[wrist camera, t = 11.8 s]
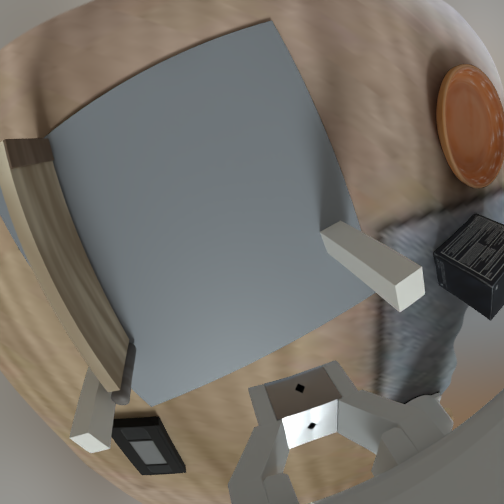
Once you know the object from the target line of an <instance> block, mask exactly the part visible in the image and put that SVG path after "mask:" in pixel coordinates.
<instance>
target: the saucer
mask: <svg viewBox="0 0 504 504" xmlns="http://www.w3.org/2000/svg"><path fill="white" fill-rule="evenodd" d="M436 122H437V130H438V135H439V139H440V143H441V146H442V150H443V152H444V155H445V157H446V160H447V162H448V164H449V166H450V168H451V169H452V171H453V173H454V174H455V175H456V177H457V178H458V179H459V180H460V181H461V182H463V183H464V184H466V185H468V186H470V187H472V188H483V187H486V186H488V185H489V184H490V183H492V182H493V180H494V179H495V178H496V176H497V175H498V173H499V171H500V169H501V166H502V163H503V160H504V111H503V108H502V104H501V101H500V98H499V96H498V94H497V91H496V89H495V87H494V86H493V84H492V82H491V81H490V80H489V78H488V77H487V76H486V75H485V74H484V73H483V72H482V71H481V70H480V69H479V68H477V67H475V66H473V65H470V64H462V65H458V66H455V67H453V68H452V69H451V70H449V71H448V73H447V74H446V75H445V77H444V79H443V81H442V84H441V87H440V90H439V94H438V99H437V107H436Z"/></svg>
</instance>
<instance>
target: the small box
mask: <svg viewBox="0 0 504 504" xmlns="http://www.w3.org/2000/svg"><path fill="white" fill-rule="evenodd" d="M434 259H435V263H436V268H437V274H438V281H439V285H440V286H441V287H443V288H444V289H446V290H447V291H449V292H450V293H452V294H453V295H455V296H456V297H458V298H459V299H461V300H462V301H464V302H465V303H467V304H468V305H469V306H471V307H472V308H474V309H475V310H477V311H478V312H480V313H481V314H482V315H484V316H485V317H487V318H488V319H489V320H492V319H493V317H494V316H495V315H496V314H497V313H498V311H499V310H500V309H501V308H502V306H503V305H504V225H503V224H501V223H498V222H496V221H493V220H491V219H488V218H486V217H483V216H481V215H479V214H477V213H475V214H474V215H473V216H472V217H471V218H470V219H469V220H468V221H467V222H466V223H465V224H464V225H463V226H462V227H461V228H460V229H459V230H458V231H457V232H456V233H455V234H454V235H453V236H451V237H450V238H449V239H448V240H447V241H446V242H445V243H444V244H443V245H442V246H441V247H439V248H438V249H437V250H436V251H435V252H434Z"/></svg>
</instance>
